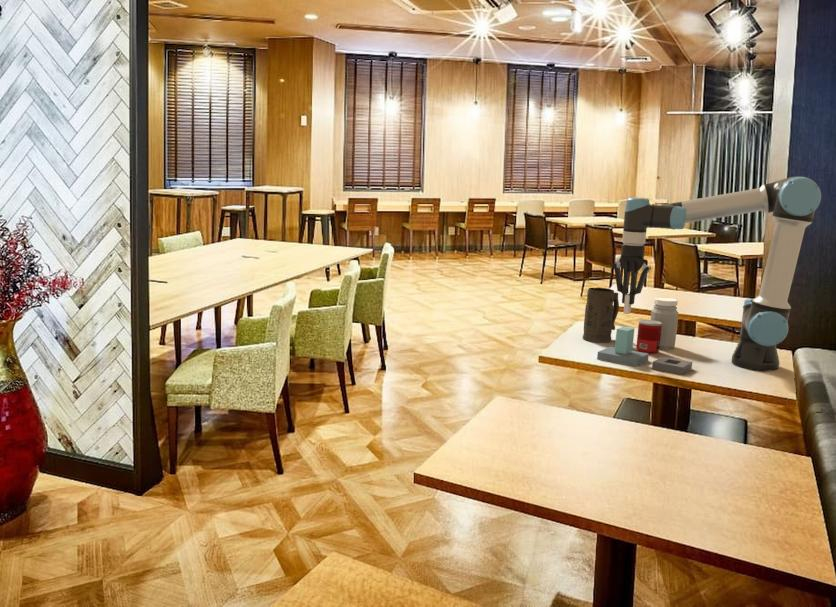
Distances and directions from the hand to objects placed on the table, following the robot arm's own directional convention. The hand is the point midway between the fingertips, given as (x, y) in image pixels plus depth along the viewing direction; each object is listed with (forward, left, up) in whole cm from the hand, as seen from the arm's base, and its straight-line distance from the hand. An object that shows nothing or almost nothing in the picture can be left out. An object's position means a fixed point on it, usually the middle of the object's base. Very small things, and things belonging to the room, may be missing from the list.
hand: (626, 313), depth 266 cm
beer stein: (+19, -26, -17) cm, 36 cm away
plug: (0, 0, -16) cm, 16 cm away
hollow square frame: (-17, 0, -16) cm, 24 cm away
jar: (-3, -31, -17) cm, 35 cm away
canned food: (-2, -19, -17) cm, 25 cm away
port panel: (0, 0, -16) cm, 16 cm away
